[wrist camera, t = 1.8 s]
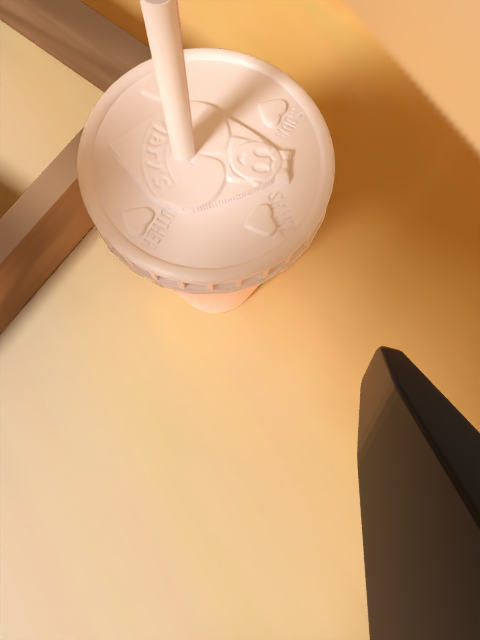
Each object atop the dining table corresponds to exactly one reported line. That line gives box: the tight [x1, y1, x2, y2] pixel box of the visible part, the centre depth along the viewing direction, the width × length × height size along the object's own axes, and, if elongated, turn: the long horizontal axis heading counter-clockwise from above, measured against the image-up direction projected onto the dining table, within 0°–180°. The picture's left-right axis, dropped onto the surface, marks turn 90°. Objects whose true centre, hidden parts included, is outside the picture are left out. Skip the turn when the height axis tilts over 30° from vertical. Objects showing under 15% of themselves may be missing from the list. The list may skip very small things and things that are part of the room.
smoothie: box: [77, 0, 335, 313], centre depth 13 cm, size 6×6×14 cm
